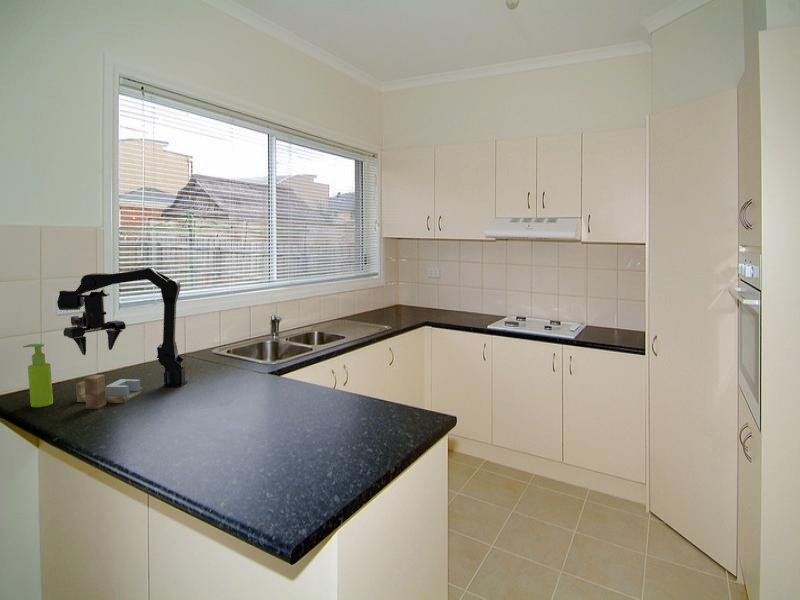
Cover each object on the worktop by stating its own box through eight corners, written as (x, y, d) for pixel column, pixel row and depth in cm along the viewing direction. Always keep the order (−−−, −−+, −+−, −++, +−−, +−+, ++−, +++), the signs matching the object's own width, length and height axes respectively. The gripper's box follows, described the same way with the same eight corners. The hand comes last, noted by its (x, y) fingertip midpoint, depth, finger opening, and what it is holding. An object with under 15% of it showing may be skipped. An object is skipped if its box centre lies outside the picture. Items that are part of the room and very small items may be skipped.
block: (140, 389, 170) (140, 379, 169) (126, 397, 161) (126, 386, 161) (120, 389, 170) (120, 379, 169) (105, 397, 161) (105, 386, 161)
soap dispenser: (35, 401, 160) (30, 342, 157) (57, 401, 160) (52, 342, 158) (23, 407, 154) (18, 346, 151) (45, 407, 154) (41, 346, 152)
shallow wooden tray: (142, 392, 171) (141, 375, 170) (124, 402, 160) (123, 385, 159) (97, 391, 171) (96, 375, 170) (77, 401, 160) (75, 384, 159)
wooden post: (106, 404, 158) (104, 374, 157) (98, 408, 154) (96, 378, 153) (94, 404, 158) (92, 374, 157) (86, 408, 154) (84, 378, 153)
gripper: (107, 304, 182) (109, 344, 184) (52, 310, 166) (56, 355, 168) (125, 306, 177) (127, 348, 179) (71, 313, 160) (74, 358, 162)
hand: (97, 352), depth 172 cm, fingers open, 9 cm apart
